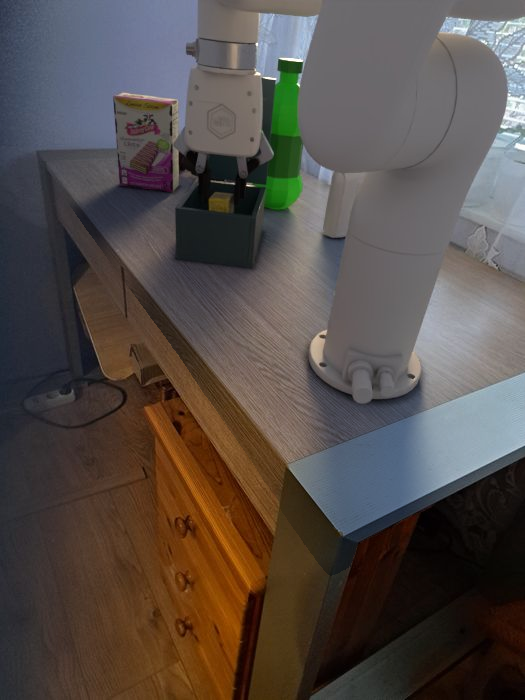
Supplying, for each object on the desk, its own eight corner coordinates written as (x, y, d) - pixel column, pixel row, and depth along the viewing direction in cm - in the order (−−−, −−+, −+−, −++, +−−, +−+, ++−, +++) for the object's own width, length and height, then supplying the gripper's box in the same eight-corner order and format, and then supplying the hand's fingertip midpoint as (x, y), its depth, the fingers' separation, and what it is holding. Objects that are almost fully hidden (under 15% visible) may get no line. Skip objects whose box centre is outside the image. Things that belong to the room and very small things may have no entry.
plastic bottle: (305, 215, 93) (326, 65, 78) (250, 212, 92) (261, 59, 77) (298, 198, 101) (316, 59, 86) (248, 195, 100) (258, 53, 85)
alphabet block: (234, 212, 74) (233, 192, 72) (229, 220, 71) (228, 199, 70) (215, 211, 74) (214, 191, 73) (209, 218, 72) (207, 198, 70)
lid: (275, 79, 69) (278, 72, 74) (195, 70, 70) (203, 63, 74) (266, 185, 79) (269, 173, 83) (196, 176, 79) (203, 165, 84)
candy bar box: (118, 186, 97) (111, 95, 87) (127, 179, 101) (120, 91, 91) (173, 193, 96) (172, 102, 87) (179, 186, 100) (178, 98, 91)
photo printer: (360, 224, 91) (374, 156, 84) (376, 232, 89) (392, 163, 82) (318, 232, 86) (330, 160, 79) (333, 241, 84) (347, 167, 76)
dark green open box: (252, 268, 72) (256, 218, 68) (175, 258, 73) (175, 208, 68) (262, 231, 84) (266, 187, 80) (196, 223, 85) (196, 178, 80)
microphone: (235, 203, 103) (179, 167, 113) (244, 177, 101) (187, 142, 110) (217, 200, 99) (160, 162, 109) (227, 173, 97) (168, 137, 106)
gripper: (153, 52, 58) (159, 202, 69) (291, 67, 58) (275, 216, 68) (169, 48, 64) (172, 186, 75) (294, 62, 64) (279, 199, 74)
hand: (221, 199), depth 72 cm, fingers open, 4 cm apart
